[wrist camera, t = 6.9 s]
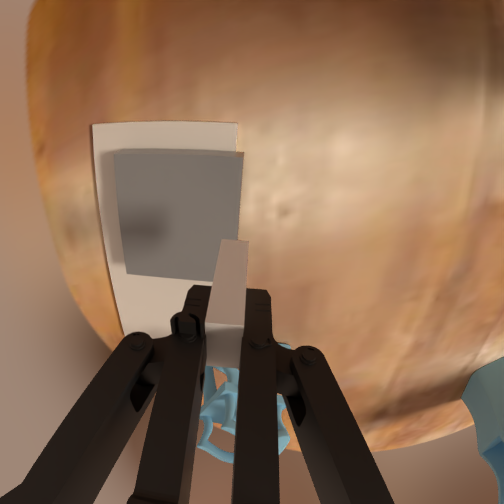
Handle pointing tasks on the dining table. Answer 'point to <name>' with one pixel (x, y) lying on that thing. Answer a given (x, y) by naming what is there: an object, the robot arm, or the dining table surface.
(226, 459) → the chair
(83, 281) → the dining table surface
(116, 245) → the mat
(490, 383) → the blue wavy holder
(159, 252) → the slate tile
